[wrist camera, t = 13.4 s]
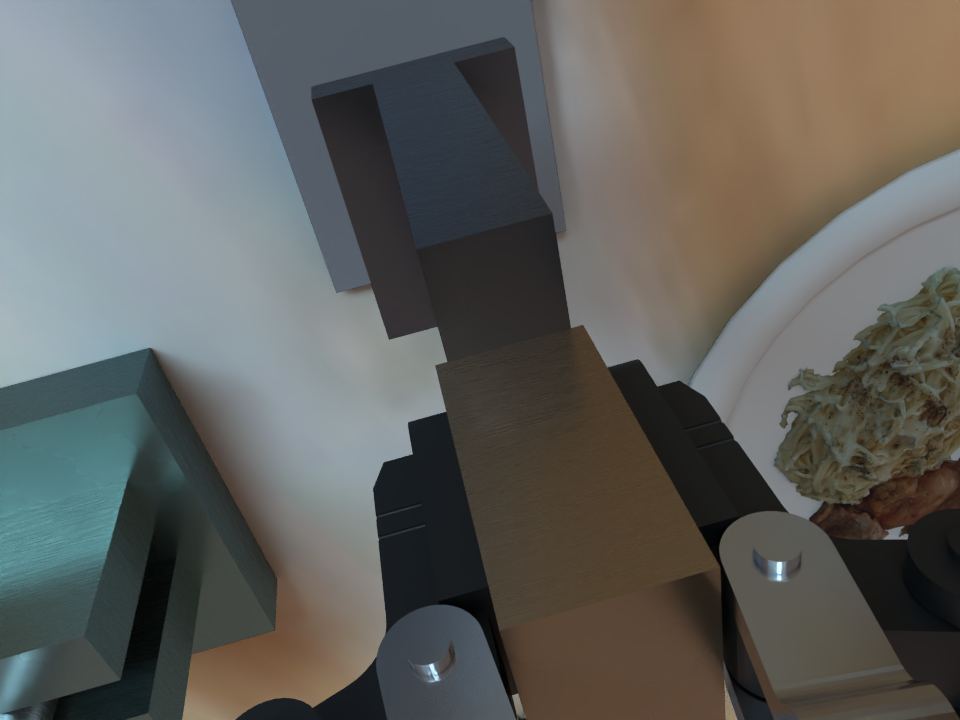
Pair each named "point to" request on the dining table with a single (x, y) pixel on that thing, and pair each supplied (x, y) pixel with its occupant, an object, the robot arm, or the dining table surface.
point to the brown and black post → (526, 396)
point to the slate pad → (366, 47)
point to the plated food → (855, 363)
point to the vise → (115, 547)
